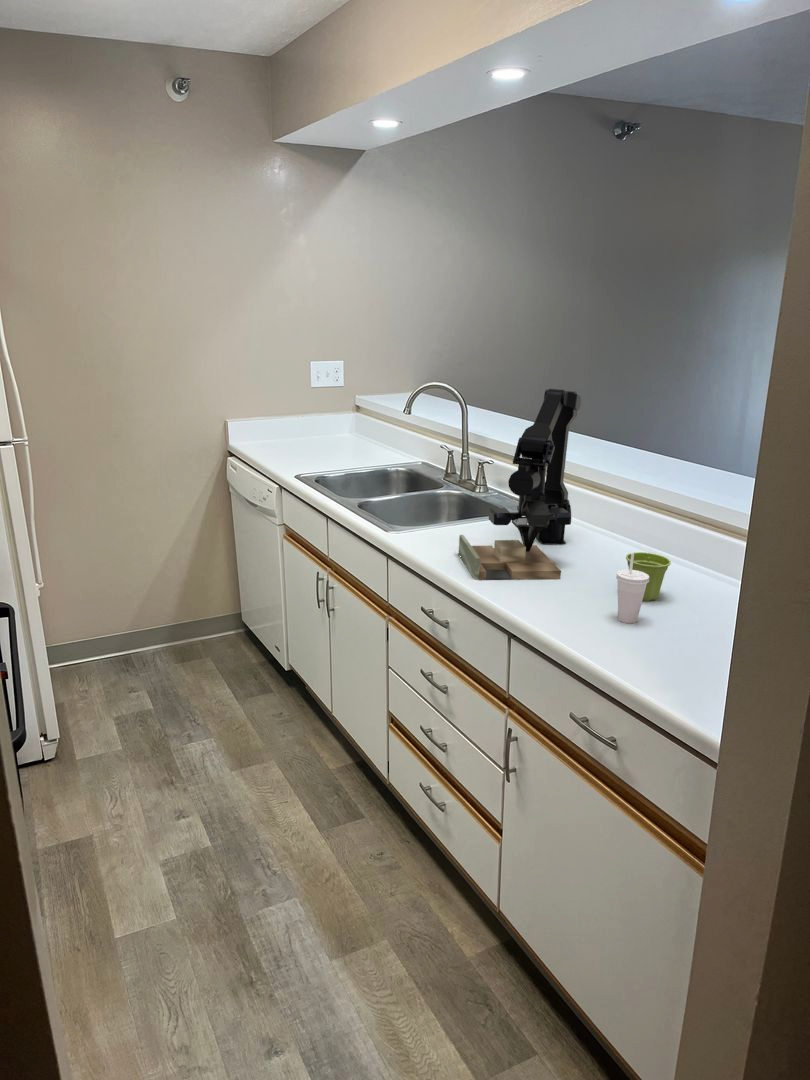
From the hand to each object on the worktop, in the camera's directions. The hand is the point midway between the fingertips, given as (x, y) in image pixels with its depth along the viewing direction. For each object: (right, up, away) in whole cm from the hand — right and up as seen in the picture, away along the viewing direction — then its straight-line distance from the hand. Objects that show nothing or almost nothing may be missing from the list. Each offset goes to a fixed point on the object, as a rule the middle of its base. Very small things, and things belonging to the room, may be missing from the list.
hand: (527, 551), depth 194 cm
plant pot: (+23, -10, -17) cm, 30 cm away
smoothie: (+16, -14, -30) cm, 37 cm away
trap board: (-4, -3, +1) cm, 6 cm away
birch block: (-4, -2, 0) cm, 5 cm away
